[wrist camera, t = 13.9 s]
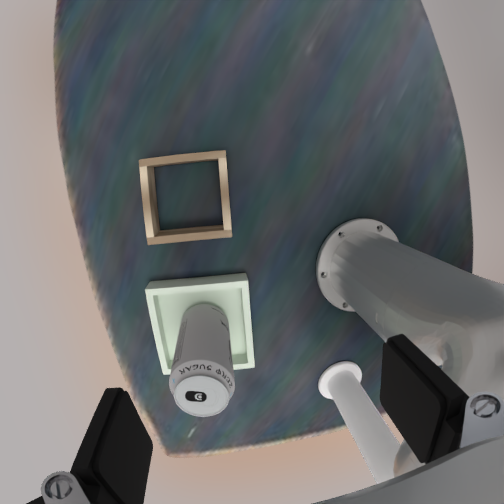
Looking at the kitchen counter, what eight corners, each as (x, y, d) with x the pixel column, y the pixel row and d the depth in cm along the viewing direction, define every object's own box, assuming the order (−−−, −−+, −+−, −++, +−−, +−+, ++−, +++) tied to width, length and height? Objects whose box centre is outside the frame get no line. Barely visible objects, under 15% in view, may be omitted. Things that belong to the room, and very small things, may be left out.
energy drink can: (226, 344, 41) (233, 422, 26) (180, 341, 40) (167, 418, 25) (230, 302, 39) (239, 372, 25) (182, 298, 39) (166, 366, 24)
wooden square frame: (230, 230, 38) (232, 236, 34) (154, 237, 37) (147, 245, 33) (224, 152, 36) (225, 150, 32) (146, 161, 35) (138, 159, 31)
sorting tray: (252, 355, 42) (254, 367, 39) (166, 362, 41) (163, 374, 38) (245, 272, 39) (248, 280, 36) (149, 281, 38) (145, 289, 35)
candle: (324, 403, 46) (383, 527, 22) (311, 373, 44) (376, 509, 20) (364, 383, 46) (439, 496, 22) (354, 353, 44) (442, 473, 20)
